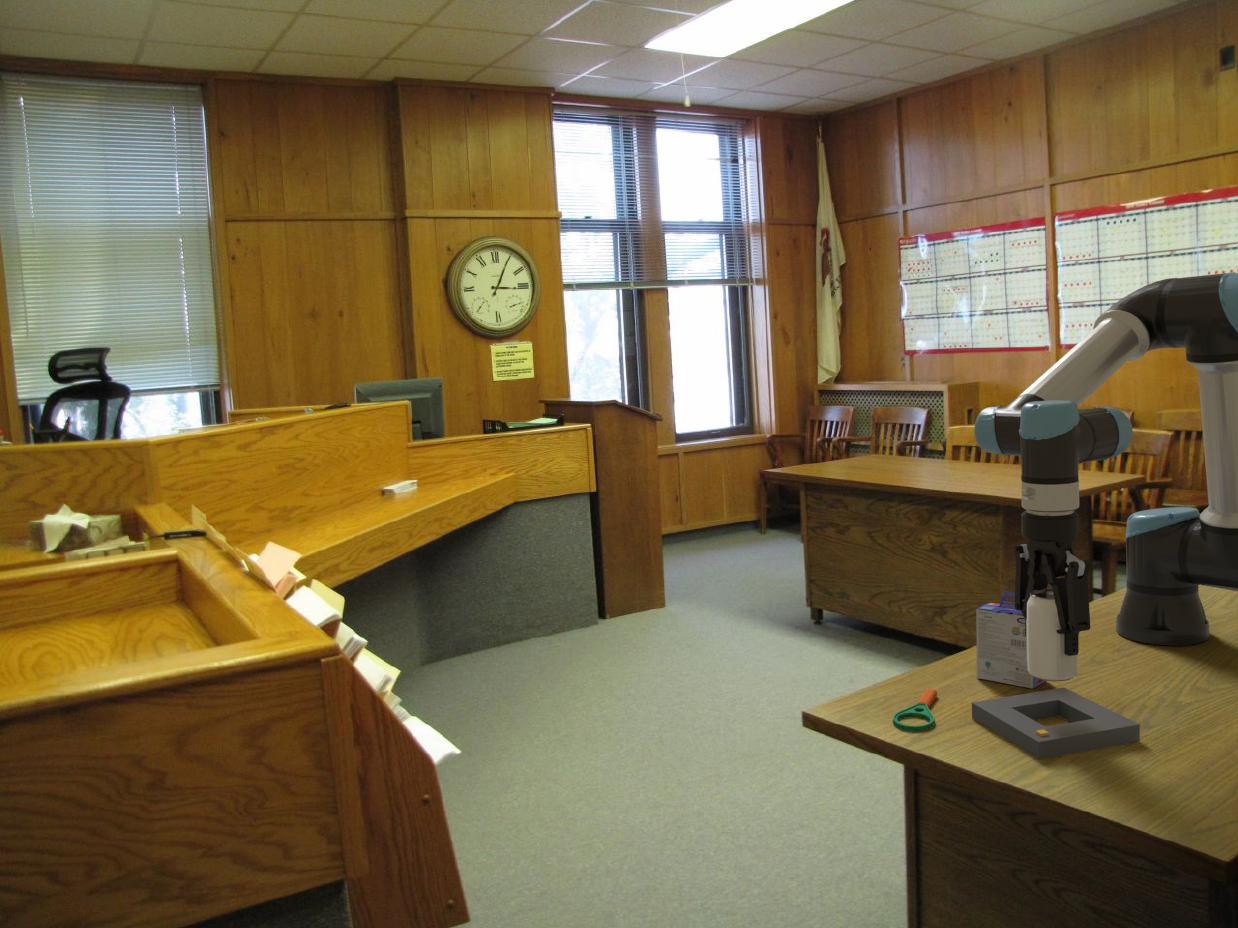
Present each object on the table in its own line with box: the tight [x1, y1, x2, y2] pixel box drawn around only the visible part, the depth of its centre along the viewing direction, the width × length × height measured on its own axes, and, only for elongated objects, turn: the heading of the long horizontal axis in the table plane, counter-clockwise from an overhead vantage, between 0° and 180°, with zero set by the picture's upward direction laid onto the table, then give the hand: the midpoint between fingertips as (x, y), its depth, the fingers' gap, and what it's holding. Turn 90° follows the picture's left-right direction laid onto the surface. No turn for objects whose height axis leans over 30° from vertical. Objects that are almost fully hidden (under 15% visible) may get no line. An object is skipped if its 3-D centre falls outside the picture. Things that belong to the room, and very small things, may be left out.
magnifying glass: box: [892, 688, 938, 733], centre depth 157 cm, size 15×6×2 cm, turn 150°
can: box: [1027, 588, 1075, 682], centre depth 146 cm, size 6×6×12 cm
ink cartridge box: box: [975, 591, 1047, 689], centre depth 167 cm, size 10×6×14 cm, turn 46°
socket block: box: [971, 687, 1141, 760], centre depth 147 cm, size 16×16×3 cm
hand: (1051, 668), depth 146 cm, fingers closed on can, 6 cm apart
